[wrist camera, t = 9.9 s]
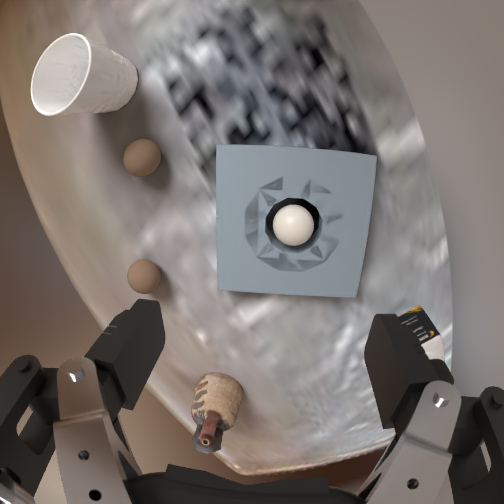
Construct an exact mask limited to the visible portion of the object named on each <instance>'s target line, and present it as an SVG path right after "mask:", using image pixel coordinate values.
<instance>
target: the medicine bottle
mask: <svg viewBox="0 0 504 504" xmlns="http://www.w3.org/2000/svg"><path fill="white" fill-rule="evenodd" d="M397 317H398V319H399V320H400V322H401V324H402V326H403V327H408V328H409V329H410V330H411V331H412V332H414V333H415V334H416V335H417V337H418V339H419V341H420V343H421V346H423V348H424V350H425V354H427V356H428V358H429V359H430V361H431V363H432V365H433V367H434V369H435V371H436V373H437V375H438V377H439V379H440V381H445V382H448V383H450V384H452V385H453V384H454V379H453V376H452V375H451V373H450V371H449V369H448V367H447V365H446V364H445V358H444V351H443V344H442V337H441V335H440V333H439V332H438V330H437V329H436V327H435V326H434V324H433V323H432V321H431V320H430V318H429V317H428V315H427V314H426V313H425V311H424V310H423V308H422V307H421V306H420V305H418V306H416V307H414V308H412V309H410V310H408V311H407V312H405V313H403V314H401V315H399V316H397Z"/></svg>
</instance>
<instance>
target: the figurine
mask: <svg viewBox="0 0 504 504" xmlns="http://www.w3.org/2000/svg"><path fill="white" fill-rule="evenodd" d="M241 400H242V388H241V385H240V384H239V383H238V382H237V381H236V380H235V379H234V378H232V377H230V376H228V375H224V374H220V373H209V374H205V375H203V376H202V377H201V378H200V379H199V380H198V381H197V384H196V387H195V393H194V399H193V405H192V410H191V413H192V417H193V420H194V421H195V422H196V424H197V428H196V432H195V434H194V436H193V439H192V444H193V445H194V447H195V448H196V449H197V450H198V451H201V452H204V453H210V452H215V451H218V450H220V449H221V442H222V435H223V432H224V431H226V430H228V429H230V428H231V427H232V426H233V424H234V423H235V421H236V418H237V415H238V411H239V407H240V404H241Z"/></svg>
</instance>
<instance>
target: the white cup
mask: <svg viewBox="0 0 504 504" xmlns="http://www.w3.org/2000/svg"><path fill="white" fill-rule="evenodd" d="M137 82H138V76H137V70H136V67H135V66H134V65H133V64H132V63H131V62H130V61H129V60H128V59H126V58H124V57H122V56H121V55H119V54H118V53H116V52H114V51H112V50H111V49H109V48H107V47H105V46H103V45H101V44H99V43H97V42H95V41H93V40H91V39H89V38H87V37H85V36H82V35H80V34H76V33H72V34H67V35H64V36H62V37H60V38H58V39H57V40H56V41H54V42H53V43H52V44H51V45H50V46H49V47H48V48H47V49H46V50H45V52H44V53H43V54H42V56H41V57H40V59H39V61H38V63H37V65H36V67H35V70H34V73H33V77H32V82H31V98H32V102H33V104H34V106H35V108H36V109H37V111H38V112H40V113H41V114H43V115H46V116H55V115H71V114H89V113H100V112H104V113H106V112H112V111H117V110H119V109H120V108H121V107H123V106H124V105H125V104H127V103H128V102H129V100H130V99H131V97H132V96H133V94H134V93H135V90H136V86H137Z"/></svg>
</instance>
